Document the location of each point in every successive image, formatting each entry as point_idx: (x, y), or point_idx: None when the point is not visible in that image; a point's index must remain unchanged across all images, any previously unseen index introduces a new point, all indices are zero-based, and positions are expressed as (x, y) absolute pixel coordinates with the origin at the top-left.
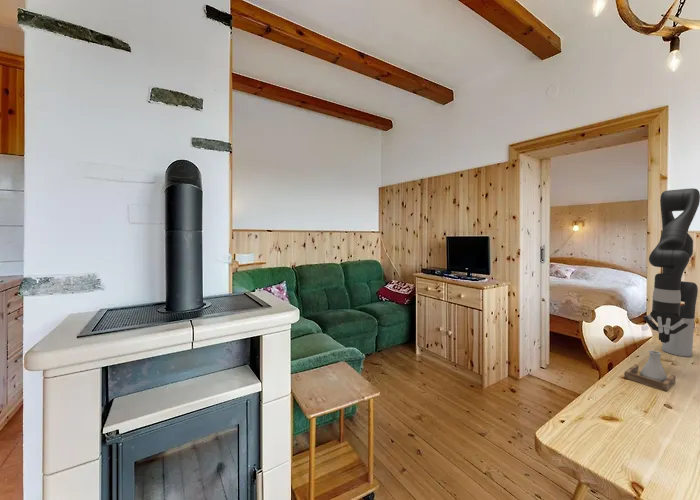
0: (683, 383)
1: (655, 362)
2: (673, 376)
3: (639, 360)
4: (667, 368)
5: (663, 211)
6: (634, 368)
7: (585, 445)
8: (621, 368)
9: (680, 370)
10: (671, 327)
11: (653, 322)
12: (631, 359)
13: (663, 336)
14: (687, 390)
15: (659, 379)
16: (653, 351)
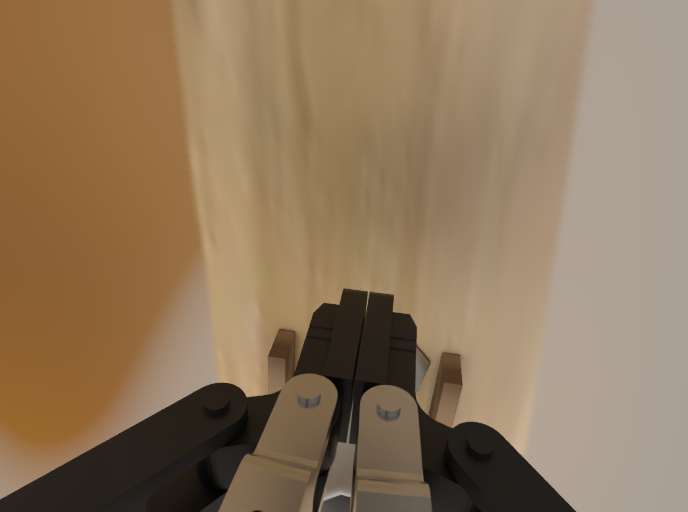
0: (495, 340)
1: None
2: (452, 405)
3: (238, 88)
4: (415, 115)
5: None
6: None
7: None
8: (228, 351)
9: (494, 78)
10: (425, 487)
11: (132, 500)
12: (197, 118)
13: (351, 408)
14: (504, 417)
15: None
16: (334, 493)
